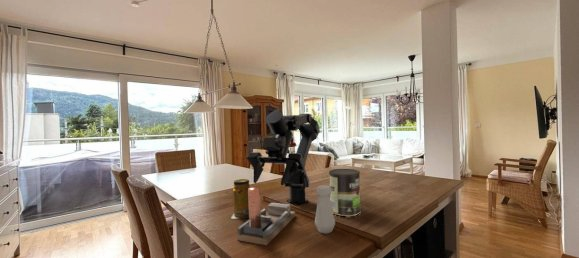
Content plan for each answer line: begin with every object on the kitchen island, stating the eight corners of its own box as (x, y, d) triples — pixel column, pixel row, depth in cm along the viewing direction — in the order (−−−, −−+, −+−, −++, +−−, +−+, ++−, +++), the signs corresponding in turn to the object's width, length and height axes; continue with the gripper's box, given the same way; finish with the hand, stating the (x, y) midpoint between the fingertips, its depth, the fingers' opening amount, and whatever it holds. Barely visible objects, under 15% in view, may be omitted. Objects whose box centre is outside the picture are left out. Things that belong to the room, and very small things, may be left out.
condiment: (235, 211, 92) (234, 178, 91) (258, 210, 92) (257, 177, 91) (230, 219, 84) (229, 183, 84) (255, 218, 84) (254, 182, 84)
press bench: (271, 212, 89) (270, 200, 88) (295, 215, 85) (294, 203, 85) (237, 239, 69) (236, 224, 69) (266, 245, 66) (265, 228, 66)
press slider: (254, 224, 75) (252, 183, 75) (272, 227, 73) (271, 185, 72) (243, 233, 69) (241, 189, 69) (262, 236, 67) (260, 190, 67)
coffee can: (365, 210, 88) (365, 170, 87) (351, 220, 80) (350, 176, 80) (340, 204, 95) (339, 167, 94) (324, 212, 87) (323, 172, 87)
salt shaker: (313, 226, 76) (312, 184, 76) (332, 225, 77) (331, 182, 76) (317, 235, 70) (315, 189, 70) (337, 234, 71) (336, 188, 70)
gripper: (248, 128, 85) (230, 167, 75) (301, 127, 78) (288, 170, 68) (260, 148, 92) (245, 186, 82) (309, 149, 85) (299, 191, 75)
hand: (267, 183), depth 77 cm, fingers open, 9 cm apart
